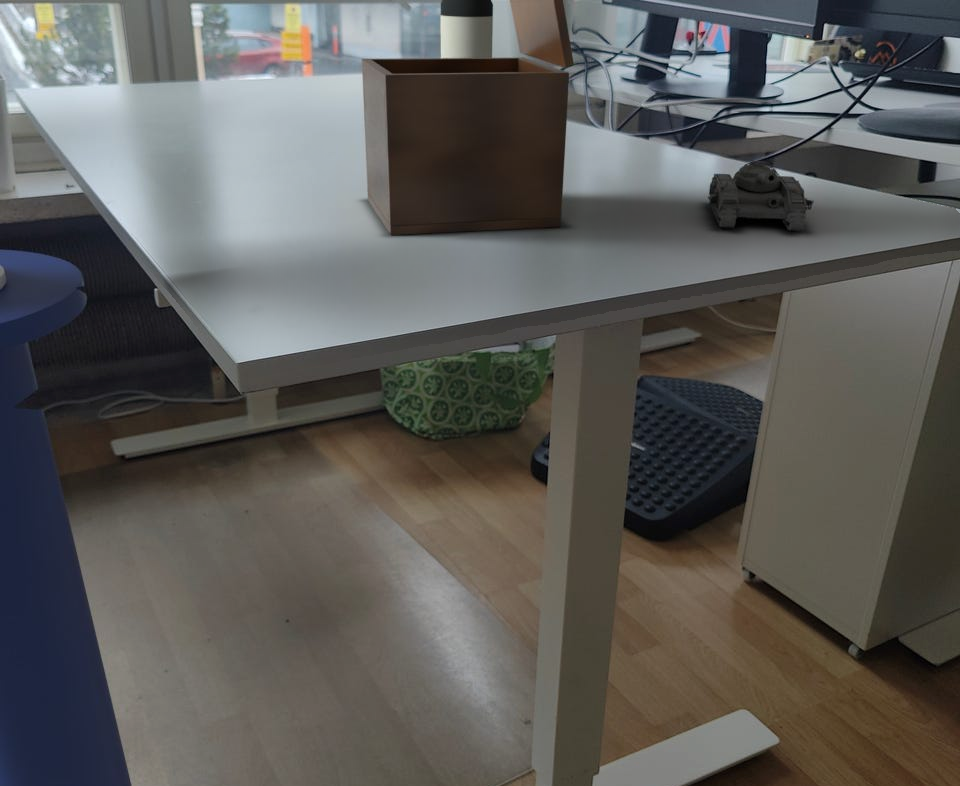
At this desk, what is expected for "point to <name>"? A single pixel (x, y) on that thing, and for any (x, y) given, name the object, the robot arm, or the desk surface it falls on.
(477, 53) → the travel mug
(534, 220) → the chest
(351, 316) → the desk surface
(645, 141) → the desk surface
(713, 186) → the tank toy
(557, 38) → the lid
